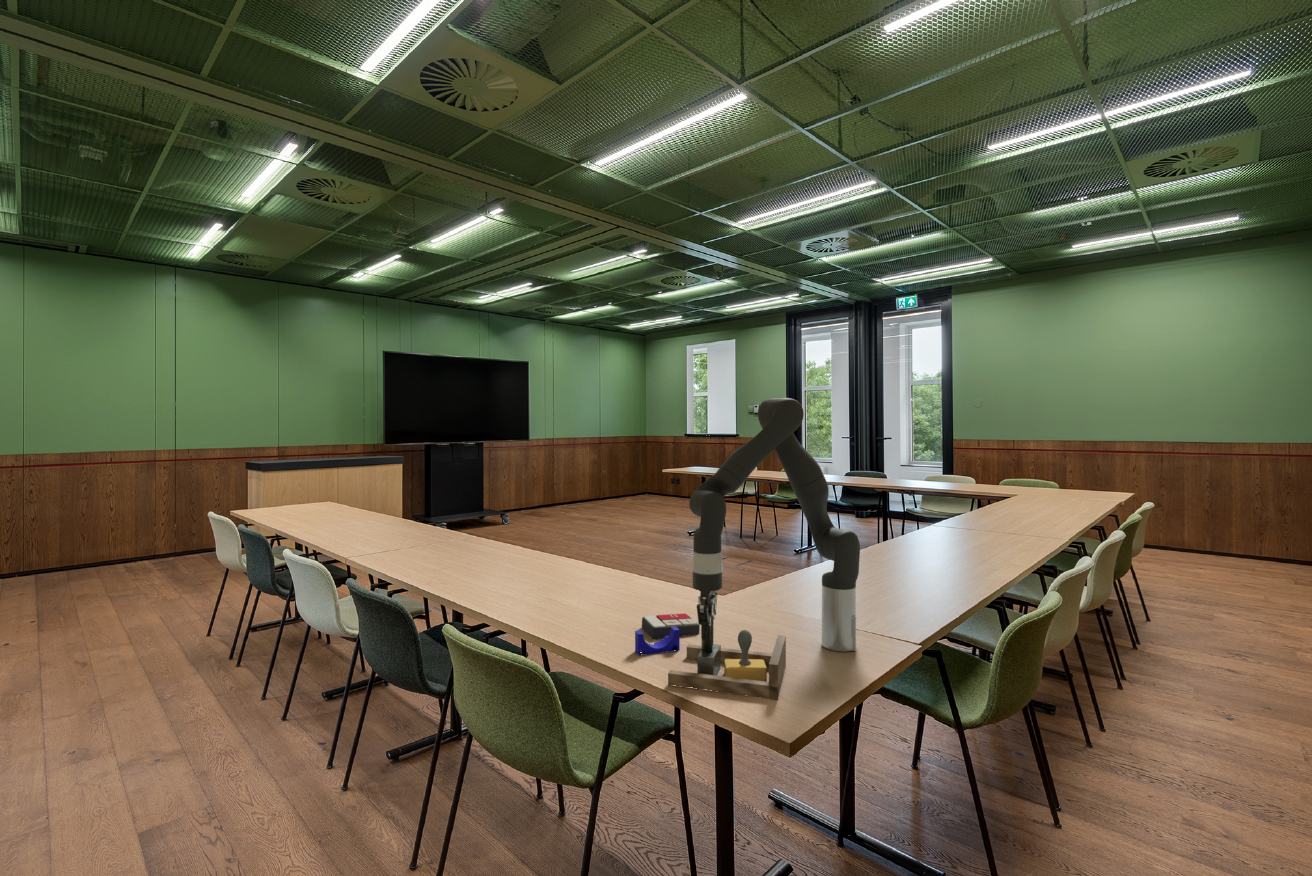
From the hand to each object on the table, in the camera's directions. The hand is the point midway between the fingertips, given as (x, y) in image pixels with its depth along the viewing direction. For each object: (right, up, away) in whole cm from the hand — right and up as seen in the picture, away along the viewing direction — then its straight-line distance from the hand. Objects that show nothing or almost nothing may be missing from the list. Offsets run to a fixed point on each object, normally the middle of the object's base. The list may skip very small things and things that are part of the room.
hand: (707, 637), depth 151 cm
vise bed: (+6, -9, -2) cm, 11 cm away
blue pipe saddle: (-13, -9, +16) cm, 22 cm away
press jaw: (+1, -9, 0) cm, 9 cm away
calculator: (-9, -9, +32) cm, 34 cm away
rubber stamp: (+9, -10, -3) cm, 13 cm away
